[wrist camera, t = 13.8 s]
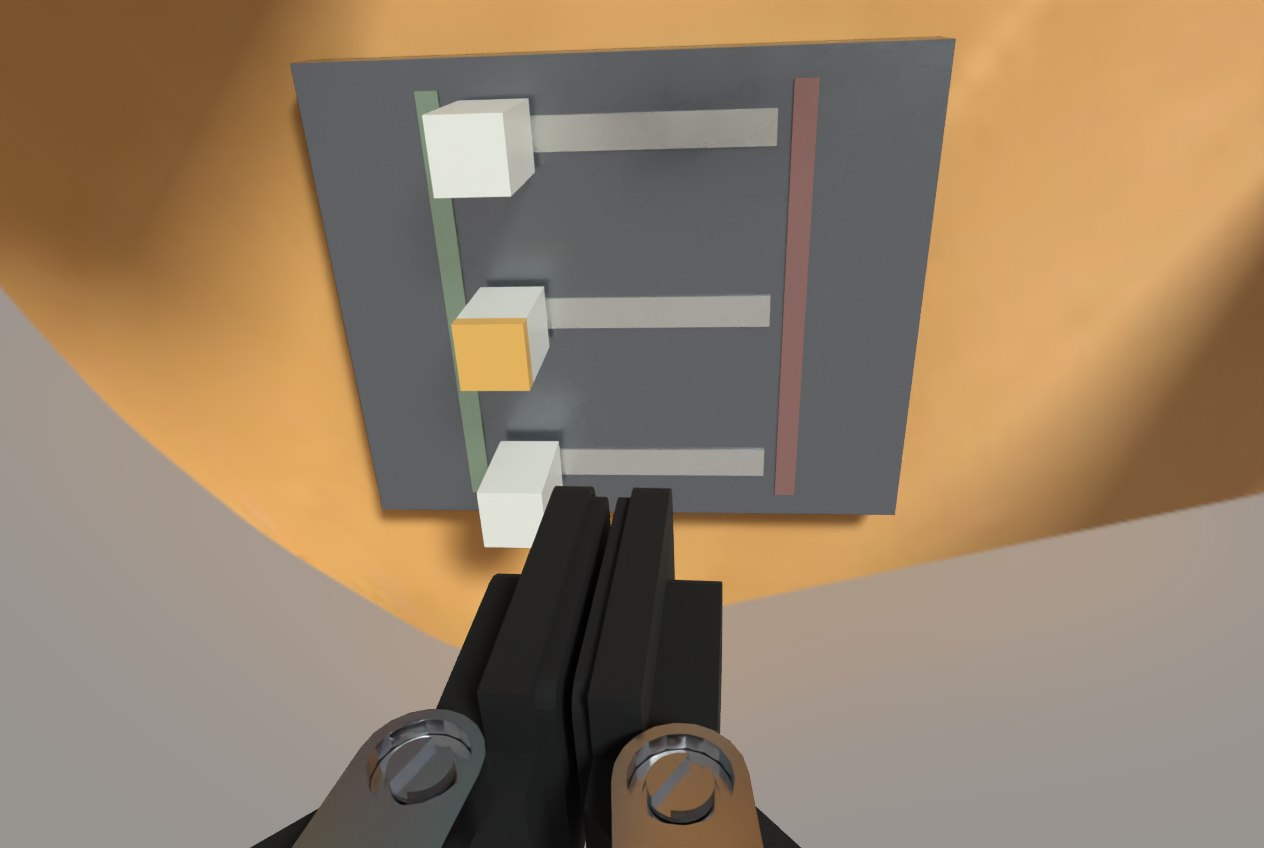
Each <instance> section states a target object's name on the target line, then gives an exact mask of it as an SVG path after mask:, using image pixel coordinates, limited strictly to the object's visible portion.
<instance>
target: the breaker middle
mask: <svg viewBox="0 0 1264 848" xmlns="http://www.w3.org/2000/svg"><path fill="white" fill-rule="evenodd" d="M451 327H452V334H453V341H454V348H455V355H456V362H457V369H458V375H459V382H460V389H461V391H530V389H531V387H532V385H533V383H534V381H535V378H536V376H537V374H538V372H539V369H540V367H541V365H542V363H543V360H544V358H545V356H546V354H547V351H548V349H549V337H548V326H547V314H546V303H545V292H544V286H541V287H480V288H479V290H478V291H477V292H476V293H475V295H474V296H473V297H472V299H471V300H470V301H469V302H468V304H467V305H466V306H465V308H464V309H463V310H462V311H461V313H460V314H459V315H458V317H457V318H456V319H455V320H454V322H453V323H452V324H451Z"/></svg>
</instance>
